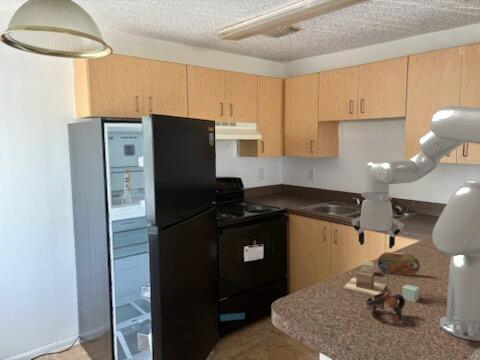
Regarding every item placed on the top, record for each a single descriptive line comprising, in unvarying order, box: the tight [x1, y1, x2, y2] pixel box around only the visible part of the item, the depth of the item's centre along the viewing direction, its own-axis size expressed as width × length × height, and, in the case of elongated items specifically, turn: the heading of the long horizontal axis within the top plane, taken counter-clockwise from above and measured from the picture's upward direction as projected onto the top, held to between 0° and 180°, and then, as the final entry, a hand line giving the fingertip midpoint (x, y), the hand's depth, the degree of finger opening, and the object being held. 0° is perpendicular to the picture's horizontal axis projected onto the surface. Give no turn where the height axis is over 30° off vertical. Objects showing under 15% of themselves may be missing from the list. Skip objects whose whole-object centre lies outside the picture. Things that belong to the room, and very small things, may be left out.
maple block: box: [361, 261, 375, 272], centre depth 145 cm, size 4×4×4 cm
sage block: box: [401, 283, 420, 303], centre depth 121 cm, size 4×4×4 cm
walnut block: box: [355, 268, 376, 290], centre depth 130 cm, size 5×5×5 cm
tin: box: [377, 251, 420, 277], centre depth 144 cm, size 15×3×8 cm, turn 73°
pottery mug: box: [365, 291, 406, 326], centre depth 109 cm, size 12×10×8 cm
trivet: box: [342, 277, 387, 297], centre depth 130 cm, size 12×12×1 cm
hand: (376, 245), depth 128 cm, fingers open, 9 cm apart
